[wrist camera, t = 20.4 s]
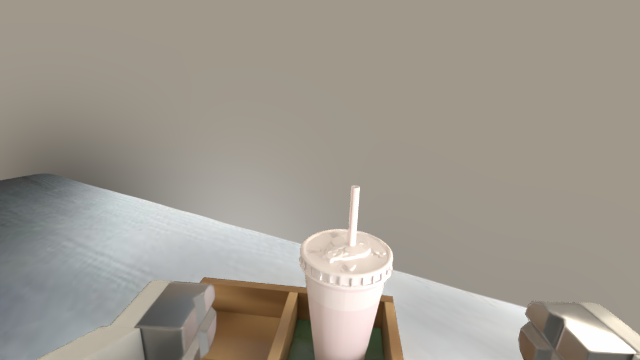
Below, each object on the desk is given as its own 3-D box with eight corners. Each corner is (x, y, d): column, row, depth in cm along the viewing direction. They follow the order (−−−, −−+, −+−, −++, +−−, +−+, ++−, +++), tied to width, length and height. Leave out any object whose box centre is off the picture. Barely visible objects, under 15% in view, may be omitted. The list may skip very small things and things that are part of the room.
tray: (206, 308, 29) (203, 277, 28) (388, 329, 28) (392, 296, 27) (144, 400, 21) (137, 359, 20) (403, 438, 19) (410, 396, 18)
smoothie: (396, 360, 24) (420, 190, 20) (344, 421, 19) (361, 217, 15) (334, 317, 28) (343, 170, 24) (280, 359, 23) (279, 186, 19)
